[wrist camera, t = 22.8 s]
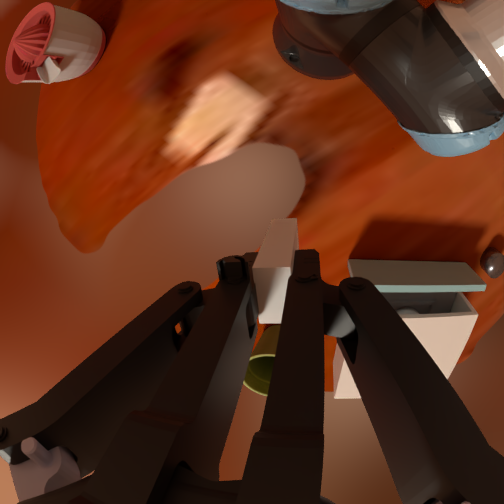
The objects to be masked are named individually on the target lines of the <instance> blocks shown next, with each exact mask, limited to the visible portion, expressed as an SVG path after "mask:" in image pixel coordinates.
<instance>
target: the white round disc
mask: <svg viewBox="0 0 504 504" xmlns="http://www.w3.org/2000/svg"><path fill="white" fill-rule="evenodd" d="M395 311H396V312H397V313H398V314H399V315H409V314H419V313H418V311H417V310H415V309H413V308H410V307H404V308H400V309H397V310H395Z"/></svg>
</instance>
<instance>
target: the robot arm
mask: <svg viewBox="0 0 504 504" xmlns="http://www.w3.org/2000/svg"><path fill="white" fill-rule="evenodd" d="M275 2H276V5H277V8H278V12H279V13H278V15H277V16H276V18H275V21H274V24H273V39H274V43H275V45H276V48H277V50H278V52H279V54H280V56H281V57H282V58H283V60H284V61H285V62H286V63H287V64H288V65H289V66H291V67H292V68H293V69H295V70H296V71H298V72H300V73H302V74H304V75H307V76H309V77H313V78H317V79H324V80H334V79H341V78H345V77H348V76H350V75H352V74H354V73H355V74H356V75H357V76H358V77H359V78H360V79H361V80H362V81H363V82H364V83H365V84H366V85H367V86H368V87H369V88H370V89H371V91H372V92H373V93H374V94H375V95H376V96H377V97H378V98H379V99H380V100H381V101H382V102H383V103H384V105H385V106H386V107H387V108H388V109H389V110H390V111H391V113H392V114H393V115H394V116H395V117H396V118H397V122H398V124H399V125H400V126H401V127H402V128H403V129H404V130H406V131H407V132H408V133H409V134H410V135H411V136H412V138H413V139H414V140H415V141H416V142H417V144H418V145H419V146H420V147H421V148H422V149H423V150H425V151H427V152H429V153H431V154H433V155H436V156H442V157H453V156H460V155H464V154H468V153H471V152H474V151H477V150H479V149H482V148H484V147H485V146H487V145H489V144H490V140H493V139H497V138H498V137H499V136H500V135H501V134H502V133H503V132H504V0H466V1H464V2H463V3H461V4H454V3H449V2H445V1H439V0H436V1H435V2H434V3H433V4H431V5H430V6H429V7H428V8H426V9H425V8H424V7H423V6H422V5H421V4H420V3H419V2H418V1H417V0H275ZM216 264H217V269H218V275H219V280H220V281H219V282H218V284H217V286H216V287H215V288H213V289H208V290H201V286H200V284H199V283H197V282H190V281H186V282H182V283H180V284H178V285H176V286H175V287H173V288H172V289H170V290H169V291H168V292H167V293H165V294H164V295H163V296H162V297H160V298H159V299H158V300H157V301H155V302H154V303H153V304H152V305H151V306H149V307H148V308H147V309H146V310H144V311H143V312H142V313H141V314H140V315H138V316H137V317H136V318H135V319H133V320H132V321H131V322H130V323H128V324H127V325H126V326H125V327H124V328H122V329H121V330H120V331H119V332H118V333H116V334H115V335H114V336H113V337H112V338H110V339H109V340H108V341H107V342H106V343H104V344H103V345H102V346H101V347H100V348H99V349H97V350H96V351H95V352H94V353H92V354H91V355H90V356H89V357H88V358H87V359H85V360H84V361H83V362H82V363H81V364H79V365H78V366H77V367H76V368H75V369H74V370H72V371H71V372H70V373H69V374H68V375H67V376H65V377H64V378H63V379H62V380H61V381H60V382H58V383H57V384H56V385H55V386H54V387H53V388H52V389H50V390H49V391H48V392H47V393H46V394H45V395H44V396H42V397H41V398H40V399H39V400H38V401H37V402H35V403H33V404H31V405H29V406H27V407H25V408H23V409H21V410H19V411H17V412H15V413H13V414H11V415H8V416H6V417H4V418H2V419H0V456H1V457H2V458H3V459H4V460H5V461H6V462H8V464H9V466H10V470H11V474H12V478H13V482H14V486H15V489H16V492H17V496H18V499H19V503H17V504H335V503H333V502H332V501H330V500H329V499H327V498H325V497H322V496H320V492H321V480H322V468H323V453H324V434H323V423H324V422H323V421H324V334H325V335H330V336H335V337H336V339H337V343H338V346H339V348H340V350H341V352H342V355H343V357H344V359H345V361H346V364H347V366H348V368H349V370H350V373H351V375H352V377H353V380H354V382H355V384H356V387H357V389H358V391H359V394H360V396H361V399H362V401H363V403H364V406H365V408H366V411H367V413H368V416H369V418H370V420H371V423H372V425H373V428H374V430H375V433H376V435H377V438H378V440H379V443H380V446H381V448H382V451H383V453H384V456H385V459H386V461H387V464H388V466H389V469H390V472H391V474H392V477H393V480H394V483H395V486H396V488H397V491H398V494H399V496H400V498H401V501H402V503H403V504H504V457H503V456H502V455H501V454H499V453H498V452H497V451H495V450H494V449H493V448H492V447H491V446H489V444H488V443H487V441H486V439H485V437H484V436H483V434H482V432H481V431H480V429H479V427H478V426H477V424H476V422H475V421H474V419H473V418H472V416H471V415H470V413H469V412H468V410H467V408H466V407H465V405H464V404H463V402H462V400H461V399H460V398H459V396H458V394H457V393H456V392H455V390H454V389H453V387H452V386H451V384H450V383H449V381H448V380H447V378H446V377H445V375H444V374H443V373H442V371H441V370H440V368H439V367H438V366H437V364H436V363H435V362H434V360H433V359H432V357H431V356H430V355H429V353H428V352H427V351H426V349H425V348H424V347H423V345H422V344H421V343H420V341H419V340H418V339H417V337H416V336H415V335H414V334H413V332H412V331H411V330H410V328H409V327H408V326H407V325H406V323H405V322H404V321H403V319H402V318H401V317H400V316H399V314H398V313H397V312H396V311H395V310H394V308H393V307H392V306H391V305H390V303H389V302H388V301H387V300H386V299H385V297H384V296H383V295H382V294H381V293H380V291H379V290H378V289H377V288H376V287H375V285H374V284H373V283H372V282H371V281H369V280H368V279H365V278H363V277H349V278H346V279H344V280H342V281H341V282H340V284H339V286H334V285H330V284H327V283H325V282H324V281H323V280H322V279H321V275H320V261H319V253H318V252H317V251H316V250H315V249H308V250H299V244H298V229H297V218H288V219H272V221H271V223H270V226H269V228H268V231H267V233H266V235H265V238H264V240H263V243H262V245H261V248H260V250H259V252H251V253H245V254H244V255H243V256H238V255H235V256H228V257H224V258H222V259H220V260H219V261H217V262H216ZM258 315H259V323H281V326H280V331H279V337H278V343H277V348H276V354H275V359H274V364H273V370H272V375H271V380H270V385H269V390H268V395H267V400H266V405H265V410H264V415H263V419H262V424H261V428H260V430H259V431H258V432H256V433H255V435H254V436H253V439H252V443H251V446H250V450H249V454H248V458H247V462H246V466H245V470H244V474H243V477H242V480H232V481H219V463H220V459H221V456H222V452H223V449H224V446H225V442H226V440H227V436H228V433H229V429H230V426H231V423H232V419H233V416H234V413H235V409H236V406H237V402H238V399H239V395H240V392H241V388H242V385H243V381H244V378H245V374H246V371H247V367H248V364H249V360H250V356H251V353H252V349H253V346H254V342H255V338H256V334H257V331H258V328H257V317H258ZM178 323H179V324H180V327H181V331H180V332H179V333H178V334H177V332H176V330H175V326H176V325H177V324H178ZM94 470H95V471H94ZM92 471H94V473H93V474H92V475H90V476H87V477H85V478H83V479H82V477H84V476H86V475H88V474H89V473H91V472H92Z"/></svg>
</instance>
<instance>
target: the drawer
mask: <svg viewBox="0 0 504 504" xmlns="http://www.w3.org/2000/svg"><path fill="white" fill-rule="evenodd" d="M348 269H349V273H350V276H351V277H363V278H365V279H368V280H369V281H371V282H372V283H373V284H374V285H375V287H376V288H377V289H378V290H379V291H380V293H381V294H382V295H383V296H384V297H385V299H386V300H387V301H388V302H389V303H390V305H391V306H392V307H393V308H394V310H397V309H400V308H404V307H410V308H413V309H415V310H417V311H418V313H419V314H439V313H450V311H451V308H452V305H453V302H454V299H455V296H456V293H457V292H468V291H485V288H486V283H485V282H484V281H483V280H482V279H481V278H480V277H479V276H478V275H477V274H476V273H475V272H474V271H473V269H472V268H471V267H470V266H469V265H468V264H467V263H466V262H431V261H395V260H361V259H348Z"/></svg>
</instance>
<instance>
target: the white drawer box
mask: <svg viewBox="0 0 504 504" xmlns="http://www.w3.org/2000/svg"><path fill="white" fill-rule="evenodd" d="M399 316H400V317H401V318H402V319H403V321H404V322H405V323H406V325H407V326H408V327H409V328H410V330H411V331H412V332H413V334H414V335H415V336H416V337H417V339H418V340H419V341H420V343H421V344H422V345H423V347H424V348H425V349H426V351H427V352H428V353H429V355H430V356H431V357H432V359H433V360H434V362H435V363H436V364H437V366H438V367H439V368H440V370H441V371H442V373H443V374H444V375H445V377H446V378H447V379H448V377H449V376H450V374H451V372H452V370H453V368H454V366H455V365H456V363H457V361H458V359H459V357H460V355H461V353H462V351H463V349H464V347H465V344H466V342H467V340H468V338H469V336H470V334H471V331H472V329H473V327H474V324H475V322H476V319H477V317H478V313H477V312H476V310H475V309H474V308H473V306H472V305H471V303H470V302H469V301H468V299H467V298H466V297H465V295H464V294H463V293H462V292H457V293H456V296H455V299H454V302H453V305H452V308H451V311H450V313H439V314H409V315H399ZM333 375H334V398H336V399H337V398H361V396H360V394H359V391H358V389H357V387H356V384H355V382H354V380H353V377H352V375H351V373H350V370H349V368H348V366H347V364H346V361H345V359H344V357H343V355H342V352H341V350H340V348H339V346H338V343H337V346H336V351H335V356H334V361H333Z"/></svg>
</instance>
